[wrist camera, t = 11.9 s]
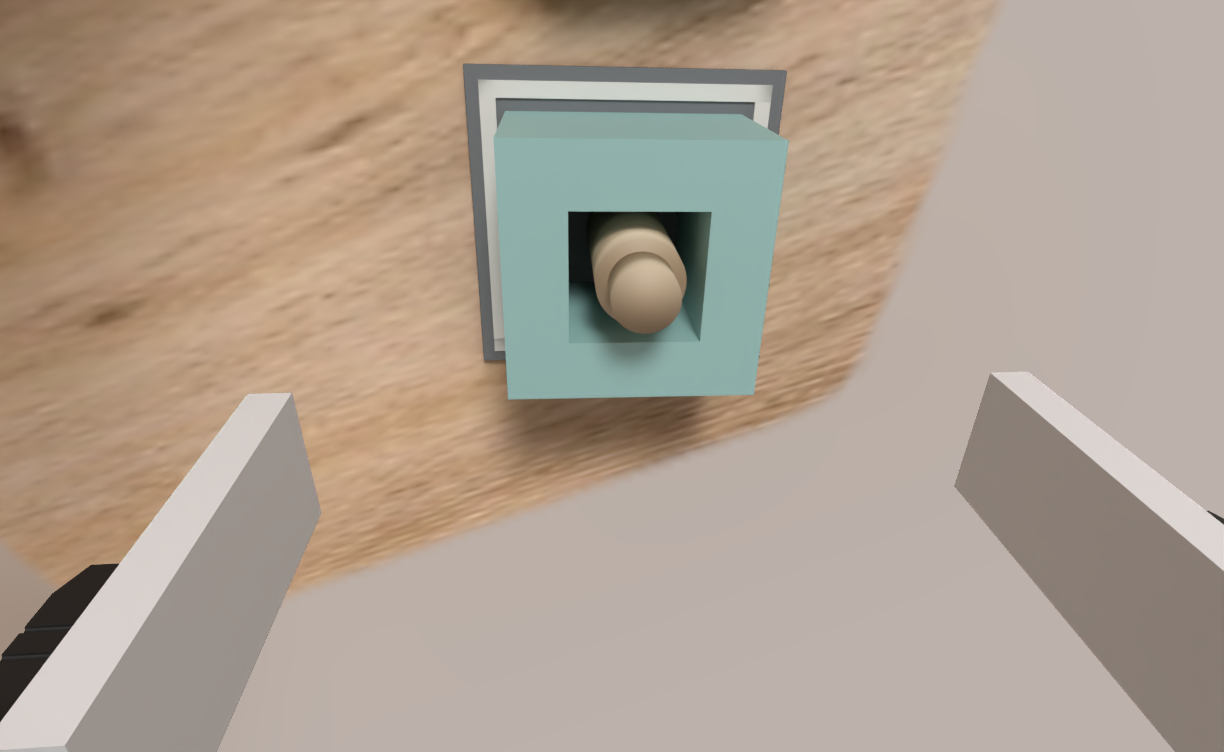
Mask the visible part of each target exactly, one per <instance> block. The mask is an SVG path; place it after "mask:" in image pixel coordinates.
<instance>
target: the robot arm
mask: <svg viewBox="0 0 1224 752" xmlns="http://www.w3.org/2000/svg"><path fill="white" fill-rule="evenodd" d="M955 488H956V489H957V490H958V491H959V492H960V494H961V495H962V496H963V497H964V498H965V500H966V501H967V502H968V503H969V504H970V506H971V507H972V508H973V509H974V510H975V512H976V513H977V514H978V515H979V516H980V518H981V519H982V520H983V521H984V522H985V524H986V525H987V526H988V527H989V528H990V530H991V531H992V532H993V533H994V535H995V536H996V537H997V538H998V539H999V541H1000V542H1001V543H1002V544H1003V545H1004V547H1005V548H1006V549H1007V550H1008V551H1009V553H1010V554H1011V555H1012V556H1013V557H1014V558H1015V560H1016V561H1017V562H1018V563H1019V564H1020V566H1021V567H1022V568H1023V569H1024V571H1025V572H1026V573H1027V574H1028V575H1029V577H1030V578H1031V579H1032V580H1033V581H1034V583H1035V584H1036V585H1037V586H1038V587H1039V589H1040V590H1041V591H1042V592H1043V593H1044V595H1045V596H1046V597H1047V598H1048V599H1049V601H1050V602H1051V603H1052V604H1053V605H1054V607H1055V608H1056V609H1057V610H1058V611H1059V613H1060V614H1061V615H1062V616H1063V618H1064V619H1065V620H1066V621H1067V622H1068V624H1069V625H1070V626H1071V627H1072V628H1073V630H1074V631H1075V632H1076V633H1077V634H1078V636H1079V637H1080V638H1081V639H1082V640H1083V642H1084V643H1085V644H1086V645H1087V646H1088V648H1089V649H1090V650H1091V651H1092V652H1093V654H1094V655H1095V656H1096V657H1097V658H1098V660H1099V661H1100V662H1101V663H1102V664H1103V666H1104V667H1105V668H1106V669H1107V671H1108V672H1109V673H1110V674H1111V675H1112V677H1113V678H1114V679H1115V680H1116V681H1117V683H1118V684H1119V685H1120V686H1121V687H1122V689H1123V690H1124V691H1125V692H1126V693H1127V695H1128V696H1129V697H1130V698H1131V699H1132V700H1133V702H1134V703H1135V704H1136V705H1137V707H1138V708H1139V709H1140V710H1141V711H1142V713H1143V714H1144V715H1145V716H1146V717H1147V719H1148V720H1149V721H1150V722H1151V723H1152V725H1153V726H1154V727H1155V728H1156V729H1157V731H1158V732H1159V733H1160V734H1161V736H1162V737H1163V738H1164V739H1165V740H1166V742H1167V743H1168V744H1169V745H1170V746H1171V747H1172V749H1173V750H1174V751H1175V752H1224V519H1223V518H1221V517H1219V516H1217V515H1216V514H1214V513H1212V512H1210V511H1206V510H1204V509H1203V508H1202V507H1200V506H1199V505H1198V504H1197V503H1195V502H1194V501H1193V500H1191V499H1190V498H1189V497H1188V496H1186V495H1185V494H1184V493H1182V492H1181V491H1180V490H1179V489H1177V488H1176V487H1175V486H1174V485H1172V484H1171V483H1170V482H1168V481H1167V480H1166V479H1164V478H1163V477H1162V476H1161V475H1159V474H1158V473H1157V472H1156V471H1154V470H1153V469H1152V468H1150V467H1149V466H1148V465H1146V464H1145V463H1144V462H1143V461H1142V460H1140V459H1139V458H1138V457H1136V456H1135V455H1134V454H1133V453H1131V452H1130V451H1129V450H1127V449H1126V448H1125V447H1124V446H1122V445H1121V444H1120V443H1118V442H1117V441H1116V440H1115V439H1113V438H1112V437H1111V436H1110V435H1108V434H1107V433H1106V432H1104V431H1103V430H1102V429H1100V428H1099V427H1098V426H1097V425H1095V424H1094V423H1093V422H1092V421H1090V420H1089V419H1088V418H1086V417H1085V416H1084V415H1083V414H1081V413H1080V412H1079V411H1077V410H1076V409H1075V408H1074V407H1072V406H1071V405H1070V404H1069V403H1067V402H1066V401H1065V400H1063V399H1062V398H1061V397H1059V396H1058V395H1057V394H1055V393H1054V392H1053V391H1052V390H1051V389H1049V388H1048V387H1047V386H1046V385H1044V384H1043V383H1042V382H1040V381H1039V380H1038V379H1037V378H1035V377H1034V376H1033V375H1031V374H1030V373H1029V372H1000V373H990V376H989V379H988V382H987V385H986V388H985V391H984V395H983V398H982V401H981V404H980V407H979V410H978V413H977V417H976V420H975V423H974V426H973V429H972V432H971V435H970V439H969V442H968V445H967V448H966V451H965V454H964V457H963V461H962V463H961V467H960V470H959V473H958V476H957V479H956V482H955ZM320 515H321V509H320V505H319V501H318V497H317V493H316V489H315V485H314V481H313V477H312V473H311V469H310V464H309V460H308V456H307V452H306V448H305V444H304V440H303V436H302V432H301V428H300V424H299V420H298V415H297V411H296V407H295V403H294V399H293V395H292V393H268V394H247V395H246V397H245V398H244V399H243V401H242V402H241V403H240V405H239V406H238V407H237V409H236V410H235V411H234V413H233V414H232V415H231V417H230V418H229V419H228V421H227V422H226V423H225V425H224V426H223V427H222V429H221V430H220V431H219V433H218V434H217V435H216V437H215V438H214V439H213V441H212V442H211V443H210V445H209V446H208V447H207V449H206V450H205V451H204V453H203V454H202V455H201V457H200V458H199V459H198V460H197V462H196V463H195V464H194V466H193V467H192V468H191V470H190V471H189V472H188V474H187V475H186V476H185V478H184V479H183V480H182V482H181V483H180V484H179V486H178V487H177V488H176V490H175V491H174V492H173V494H172V495H171V496H170V498H169V499H168V500H167V502H166V503H165V504H164V506H163V507H162V508H161V510H160V511H159V512H158V514H157V515H156V516H155V518H154V519H153V520H152V522H151V523H150V524H149V526H148V527H147V528H146V529H145V531H144V532H143V533H142V535H141V536H140V537H139V539H138V540H137V541H136V543H135V544H134V545H133V547H132V548H131V549H130V551H129V552H128V553H127V555H126V556H125V557H124V559H123V560H122V561H121V563H120V564H101V565H90V566H89V567H88V568H86V569H85V570H84V571H82V572H81V573H80V574H78V575H77V576H76V577H74V578H73V579H72V580H70V581H69V582H67V583H66V584H65V585H63V586H62V587H61V588H59V589H58V590H57V591H55V592H54V593H53V594H52V595H51V596H50V597H49V598H48V599H47V601H46V602H45V603H44V604H43V606H42V607H41V608H40V609H39V610H38V612H37V613H36V614H35V615H34V617H33V618H32V619H31V620H30V621H29V622H28V624H27V625H26V626H25V632H24V633H21V634H18V636H17V637H16V638H15V639H14V641H13V642H12V643H11V644H10V645H9V647H8V648H7V649H6V650H5V651H4V653H3V654H2V660H1V661H0V752H217V750H218V747H219V745H220V743H221V741H222V738H223V736H224V734H225V732H226V729H227V727H228V725H229V722H230V720H231V718H232V716H233V713H234V711H235V709H236V707H237V704H238V702H239V700H240V697H241V695H242V693H243V690H244V688H245V686H246V684H247V681H248V679H249V677H250V675H251V672H252V670H253V668H254V665H255V663H256V661H257V659H258V656H259V654H260V652H261V649H262V647H263V645H264V643H265V640H266V638H267V636H268V633H269V631H270V629H271V627H272V624H273V622H274V620H275V617H276V615H277V613H278V611H279V608H280V606H281V604H282V601H283V599H284V597H285V595H286V592H287V590H288V588H289V585H290V583H291V581H292V579H293V576H294V574H295V572H296V569H297V567H298V565H299V563H300V560H301V558H302V556H303V553H304V551H305V549H306V547H307V544H308V542H309V540H310V537H311V535H312V533H313V531H314V528H315V526H316V524H317V521H318V519H319V517H320Z"/></svg>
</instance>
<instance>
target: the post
mask: <svg viewBox="0 0 1224 752" xmlns="http://www.w3.org/2000/svg"><path fill="white" fill-rule="evenodd" d="M586 230H587V238H588V244H589V250H590V257H591V263H592V269H593V276H594V282H595V289H596V294H597V297H598V300H599V302H600V304H601V306H602V307H603V309H604V310H605V311H606V312H607V313H608V314H609V315H610V316H611V317H612V318H614V319H615V320H617V321H618V322H619V323H620V324H621V325H622V326H623V327H624V328H626V329H628V330H630V331H632V332H635V333H640V334H649V333H654V332H658V331H660V330H662V329H664V328H666V327H667V326H668V325H670V324H671V323H672V322H673V321H674V320H675V318H676V317H677V315H678V314H679V311H680V309H681V305H682V299H683V296H684V294H685V290H686V284H687V277H686V271H685V267H684V265H683V263H682V261H681V259H680V257H679V255H678V253H677V251H676V249H675V247H674V245H673V243H672V241H671V239H670V237H669V235H668V233H667V231H666V229H665V227H664V225H663V224H662V222H661V220H660V218H659V216H658V214H657V212H590V213H589V216H588V219H587V226H586Z"/></svg>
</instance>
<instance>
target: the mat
mask: <svg viewBox="0 0 1224 752" xmlns="http://www.w3.org/2000/svg"><path fill="white" fill-rule="evenodd" d="M463 70H464V84H465V98H466V112H467V126H468V140H469V154H470V168H471V182H472V196H473V210H474V224H475V238H476V252H477V266H478V280H479V294H480V308H481V322H482V336H483V350H484V360H506V353H505V335H504V317H503V299H502V281H501V264H500V246H499V228H498V210H497V192H496V174H495V156H494V135H495V133H496V131H497V129H498V126H499V124H500V122H501V119H502V117H503V115H504V113H505V111H554V112H625V113H696V114H742V115H744V116H746V117H747V118H749V119H751V120H753V121H754V122H756V123H758V124H760V125H762V126H763V127H765V128H767V129H769V130H770V131H772V132H774V133H776V134H777V135H779V127H780V120H781V112H782V105H783V97H784V90H785V82H786V74H787V71H785V70H746V69H698V68H649V67H600V66H552V65H503V64H463ZM589 213H590V212H580V211H568V268H569V282H594V276H593V269H592V263H591V257H590V250H589V244H588V238H587V230H586V226H587V219H588V216H589ZM657 214H658V216H659V218H660V220H661V222H662V224H663V225H664V227H665V229H666V231H667V233H668V235H669V237H670V239H671V241H672V243H673V245H674V247H675V249H676V235H677V221H678V212H657Z"/></svg>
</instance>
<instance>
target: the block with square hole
mask: <svg viewBox="0 0 1224 752" xmlns="http://www.w3.org/2000/svg"><path fill="white" fill-rule="evenodd" d="M788 144H789V141H788V140H786V139H785V138H783V137H781V136H779V135H777V134H776V133H774V132H772V131H770V130H769V129H767V128H765V127H763V126H762V125H760V124H758V123H756V122H754V121H753V120H751V119H749V118H747V117H746V116H744V115H742V114H696V113H625V112H554V111H505V113H504V115H503V117H502V119H501V122H500V124H499V126H498V129H497V131H496V133H495V135H494V156H495V174H496V192H497V210H498V228H499V246H500V264H501V281H502V299H503V317H504V335H505V353H506V371H507V389H508V399H560V398H612V397H665V396H717V395H754V389H755V381H756V374H757V367H758V360H759V353H760V345H761V338H762V331H763V324H764V317H765V309H766V302H767V295H768V288H769V281H770V273H771V266H772V259H773V252H774V245H775V237H776V230H777V223H778V216H779V209H780V201H781V194H782V187H783V180H784V173H785V165H786V158H787V151H788ZM568 211H580V212H678V221H677V235H676V251H677V253H678V255H679V257H680V259H681V261H682V263H683V265H684V267H685V271H686V277H687V284H686V290H685V294H684V296H683V299H682V305H681V309H680V311H679V314H678V315H677V317H676V318H675V320H674V321H673V322H672V323H671V324H670V325H668V326H667V327H666V328H664V329H662V330H660V331H658V332H654V333H649V334H640V333H635V332H632V331H630V330H628V329H626V328H624V327H623V326H622V325H621V324H620V323H619V322H618V321H617V320H615V319H614V318H612V317H611V316H610V315H609V314H608V313H607V312H606V311H605V310H604V309H603V307H602V306H601V304H600V302H599V300H598V297H597V294H596V289H595V282H569V268H568Z"/></svg>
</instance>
